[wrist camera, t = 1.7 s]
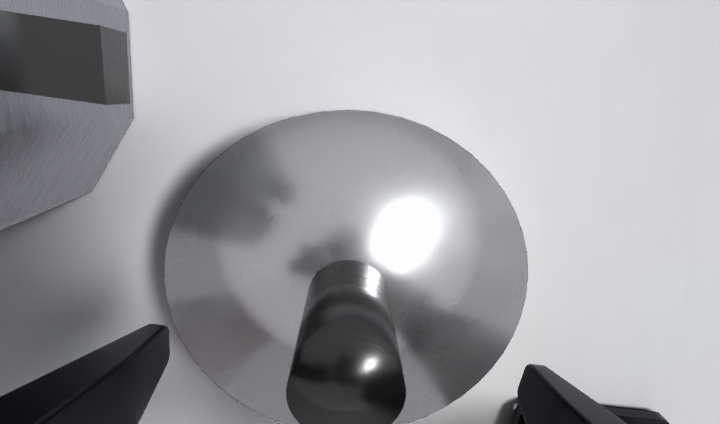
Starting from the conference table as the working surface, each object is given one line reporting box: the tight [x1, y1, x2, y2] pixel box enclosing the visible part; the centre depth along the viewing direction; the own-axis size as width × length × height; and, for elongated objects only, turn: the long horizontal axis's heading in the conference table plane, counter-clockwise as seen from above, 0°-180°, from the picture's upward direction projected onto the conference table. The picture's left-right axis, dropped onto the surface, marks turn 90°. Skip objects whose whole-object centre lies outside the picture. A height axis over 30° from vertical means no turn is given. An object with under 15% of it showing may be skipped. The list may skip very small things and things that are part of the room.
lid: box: [164, 109, 528, 424], centre depth 10 cm, size 12×12×6 cm
